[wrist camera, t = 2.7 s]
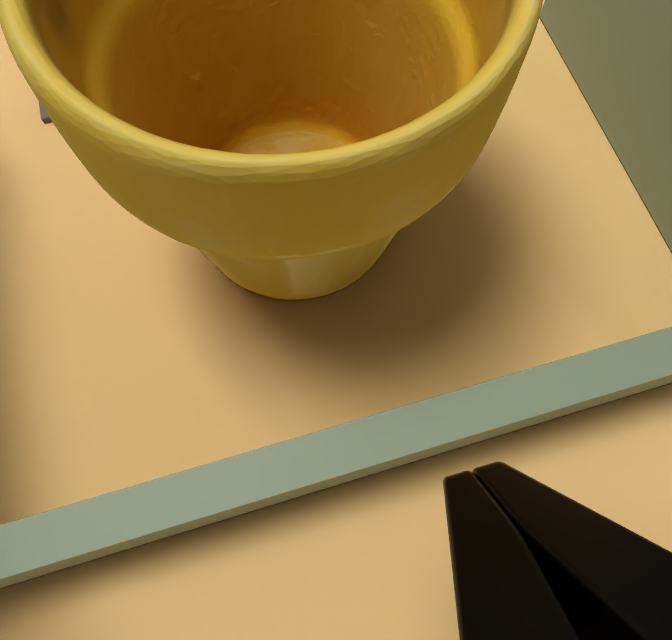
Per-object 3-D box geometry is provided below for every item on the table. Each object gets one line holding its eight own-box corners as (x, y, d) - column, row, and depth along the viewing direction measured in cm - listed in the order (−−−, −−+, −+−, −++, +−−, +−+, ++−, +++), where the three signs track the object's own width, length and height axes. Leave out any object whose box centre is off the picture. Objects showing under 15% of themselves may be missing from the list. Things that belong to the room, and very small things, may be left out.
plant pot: (506, 184, 20) (650, -110, 11) (334, 423, 17) (333, 293, 8) (273, 50, 22) (230, -289, 13) (83, 242, 19) (-143, -23, 10)
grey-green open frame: (768, 352, 18) (1494, 43, 7) (-71, 610, 15) (-1177, 807, 4) (566, 9, 23) (787, -493, 12) (-89, 159, 20) (-606, -302, 9)
